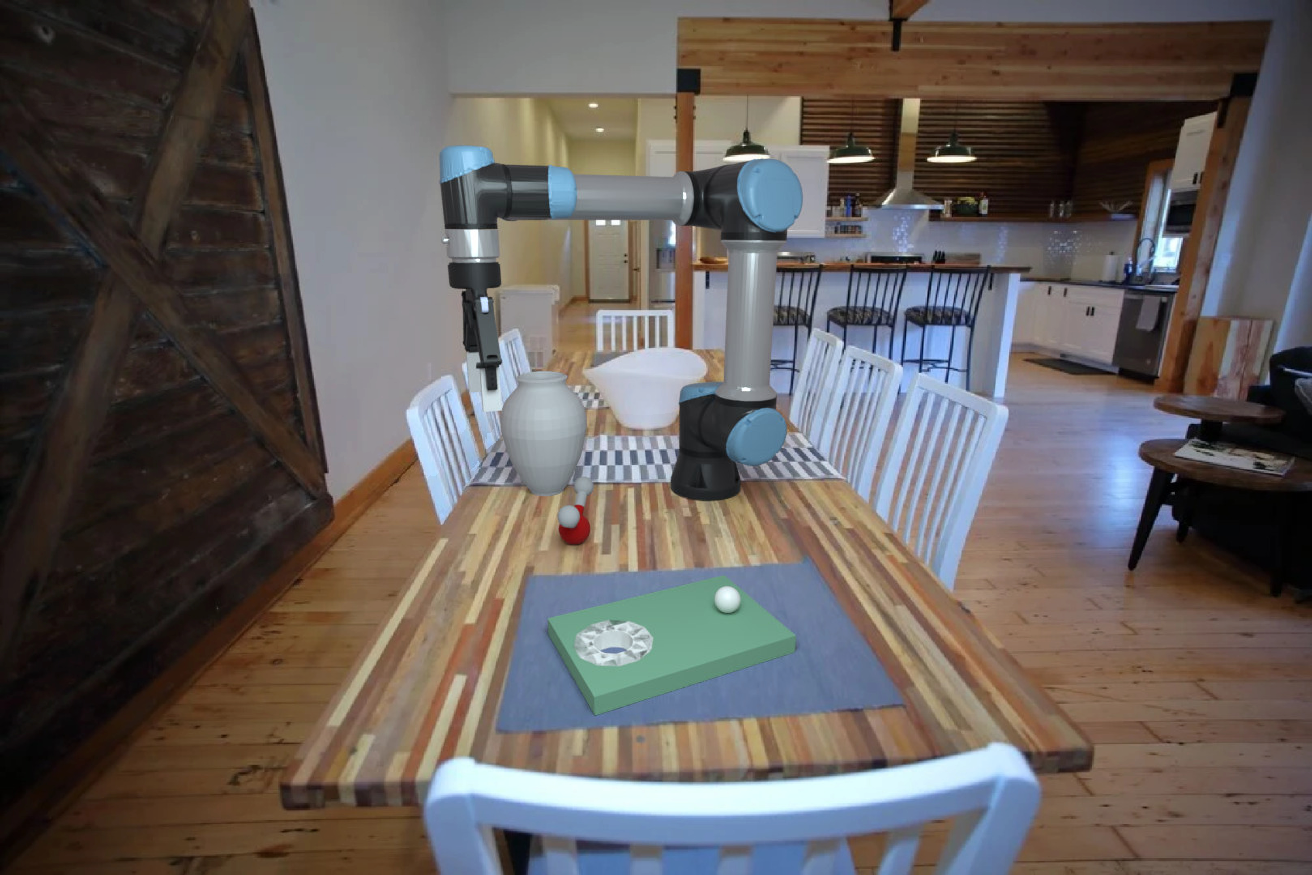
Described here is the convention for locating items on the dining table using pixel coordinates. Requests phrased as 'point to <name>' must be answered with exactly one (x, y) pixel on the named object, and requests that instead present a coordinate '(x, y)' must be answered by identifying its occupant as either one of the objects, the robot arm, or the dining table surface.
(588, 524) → the molecular model
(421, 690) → the dining table surface
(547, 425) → the vase
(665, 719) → the dining table surface
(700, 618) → the putting mat
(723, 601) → the ball
